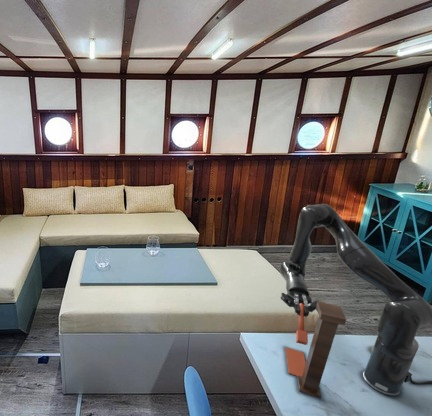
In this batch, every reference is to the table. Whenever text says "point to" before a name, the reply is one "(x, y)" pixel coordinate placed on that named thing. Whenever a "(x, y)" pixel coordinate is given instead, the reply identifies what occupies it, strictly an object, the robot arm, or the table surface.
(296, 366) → the terracotta mat
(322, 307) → the wooden square pillar
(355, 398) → the table surface
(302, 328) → the orange toy mallet
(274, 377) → the table surface
